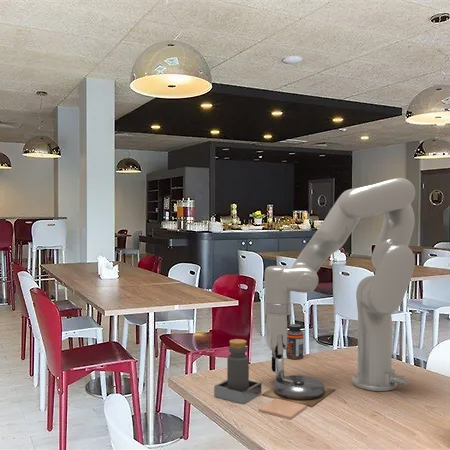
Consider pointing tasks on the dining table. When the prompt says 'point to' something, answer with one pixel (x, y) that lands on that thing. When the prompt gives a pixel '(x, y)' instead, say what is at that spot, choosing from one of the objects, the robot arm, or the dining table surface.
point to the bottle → (238, 366)
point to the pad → (283, 408)
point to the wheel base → (308, 402)
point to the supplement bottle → (294, 342)
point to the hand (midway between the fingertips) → (277, 370)
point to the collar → (238, 392)
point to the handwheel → (296, 384)
